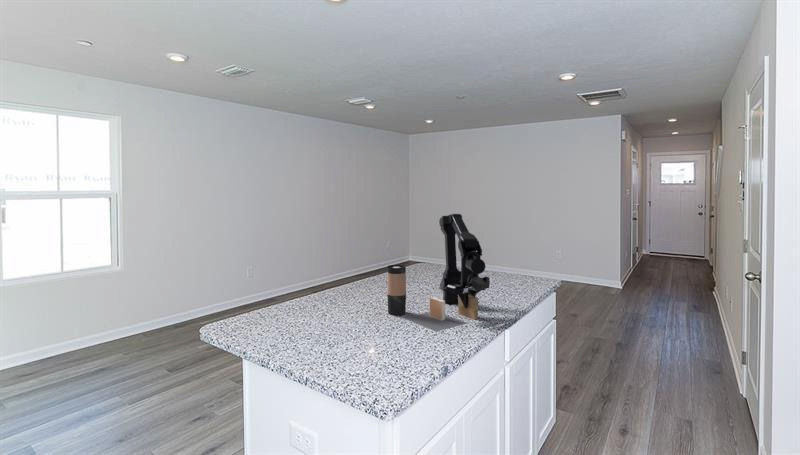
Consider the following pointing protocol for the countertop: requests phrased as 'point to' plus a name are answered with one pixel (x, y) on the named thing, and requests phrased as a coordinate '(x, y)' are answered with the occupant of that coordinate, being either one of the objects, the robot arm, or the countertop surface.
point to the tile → (437, 308)
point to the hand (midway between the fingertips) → (468, 307)
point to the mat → (435, 321)
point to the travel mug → (396, 289)
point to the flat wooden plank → (469, 307)
